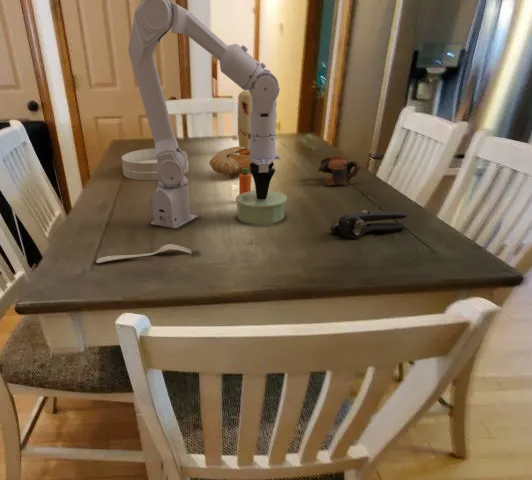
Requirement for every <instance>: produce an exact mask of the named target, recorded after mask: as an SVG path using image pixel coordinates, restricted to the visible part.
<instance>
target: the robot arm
mask: <svg viewBox="0 0 532 480" xmlns="http://www.w3.org/2000/svg"><path fill="white" fill-rule="evenodd" d="M170 30H171V31H170ZM169 31H170V32H171V33H172V34H177V35H178V34H179V35H185V36H187V37H188V38H189V39H191V40H192V41H194V42H195V43H196V44H198V45H199V46H200V47H201V48H202V49H204V50H205V51H206V52H208V54H210V55H212V56H213V57H214V58H215V59H217V60H218V62H219V68H220V73H223V75H225V76H226V77H227V78H228V79H230V80H231V81H232V82H233V83H234V84H235V85H237V86H238V87H239V88H240V89H242V91H249V92H250V94H251V96H252V97H253V98H252V110H251V113H250V115H251V116H250V156H249V160H250V161H251V162H253V163H250V167H251V168H250V174H251V177H252V178H253V180H254V181H253V182H254V186H255V191H256V195H257V199H266V197H267V194H268V191H269V190H270V184H271V182H272V181H271V180H272V178H273V176H274V174H275V172H276V168H274V165H275V163H274V162H275V160H281V154H279V153H276V135H277V114H278V112H277V104H278V102H277V99H278V97H279V94H280V89H281V88H280V86H279V81H278V79H277V77H276V76H275V75H274V74H273V73H272V72H271V70H269V69H266V67H267V65H266V64H265V63H264V62H261V63H260V61H258V60H256V59H255V58H254V57H253V56H252V55H251V54H249V52H248V50H249V49H248V48H247V46H246V45H244V44H242V45H239V43H233V44H229V45H228V44H227V43H225V42H224V41H223V40H222V39H221V38H219V36H218V35H216V34H215V33H214V32H213V31H212V30H211V29H210V28H208V26H206V24H205V23H203V22H202V21H201V20H200V19H199V18H198V17H196V15H194V14H193V13H192V12H191V11H189V10H188V9H186V8H184V7H183V6H181V5H180V4H178V3H175V2H174V1H171V0H140V2H139V3H138V5H137V7H136V9H135V11H134V12H133V22H132V27H131V31H130V37H129V43H128V48H127V51H128V56H129V60H130V63H131V66H132V70H133V73H134V77H135V81H136V84H137V87H138V90H139V94H140V97H141V102H142V104H143V108H144V111H145V114H146V117H147V122H148V125H149V129H150V133H151V136H152V140H153V143H154V148H155V152H156V158H157V162H158V166H157V176H158V178H159V180H157V184H158V185H157V187H156V189H155V190H154V191H153V192H152V193H151V196H150V204H151V213H152V221H151V222H150V224H151V225H154V226H161V227H166V228H171V229H177V228H179V227H180V226H182V225H185V224H186V223H188V222H191V221H193V219H195V218H198V215H196V214H191V202H190V186H189V179H188V178H187V177H186V176H185V174H184V171H185V169H186V164H187V163H186V158H185V156H184V155H183V153H182V152H181V151H180V150H181V149H180V147H179V143H178V141H177V138H176V136H175V133H174V129H173V126H172V122H171V118H170V114H169V111H168V107H167V101H166V99H165V95H164V92H163V88H162V84H161V80H160V76H159V73H158V69H157V65H156V60H155V57H154V55H155V52H156V50H157V48H158V46H159V44H160V43H161V40H162V38H163V37H165V35H166V34H168V32H169Z"/></svg>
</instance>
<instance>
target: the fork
mask: <svg viewBox="0 0 532 480" xmlns="http://www.w3.org/2000/svg"><path fill="white" fill-rule="evenodd" d="M169 250H175V251H180V252H184V253H188V254H191V255H192V252H191V249H190V248H187V247H185V246H181V245H178V244H173V243H168V244H164V245H162V246H161V247H159V249H158V250H156V251H153V252H149V253H141V254H139V253H138V254H119V255H106V256H102V257H99V258H97V259H96V264H103V263H106V262H113V261H117V260H118V261H119V260H125V259H133V258H142V257H150V256H154V255H157V254H159V253H163V252H165V251H169Z"/></svg>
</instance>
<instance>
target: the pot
mask: <svg viewBox="0 0 532 480" xmlns="http://www.w3.org/2000/svg"><path fill="white" fill-rule="evenodd" d="M285 212H286V202H285V203H284V204H282V205H279V206H275V207H267V208H254V207H247V206H243V205H240V204H238V203H237V202H236V217H237V219H238V220H239V221H241V222H245V223H249V224H253V225H255V224H256V225H257V224H259V225H266V224H274V223H277V222H279V221H281V220H283V219H284V218H285V214H286V213H285Z"/></svg>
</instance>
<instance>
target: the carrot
mask: <svg viewBox="0 0 532 480" xmlns="http://www.w3.org/2000/svg"><path fill="white" fill-rule="evenodd" d="M238 180H239V181H238V183H239V184H238V187H239V190H238V191H239V193H238V195H239V194H242V193H245V192H249V191H252V190H251V189H252V183H251V182H252V174H251V173H250V172H248V168H242V174H239V176H238Z"/></svg>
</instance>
